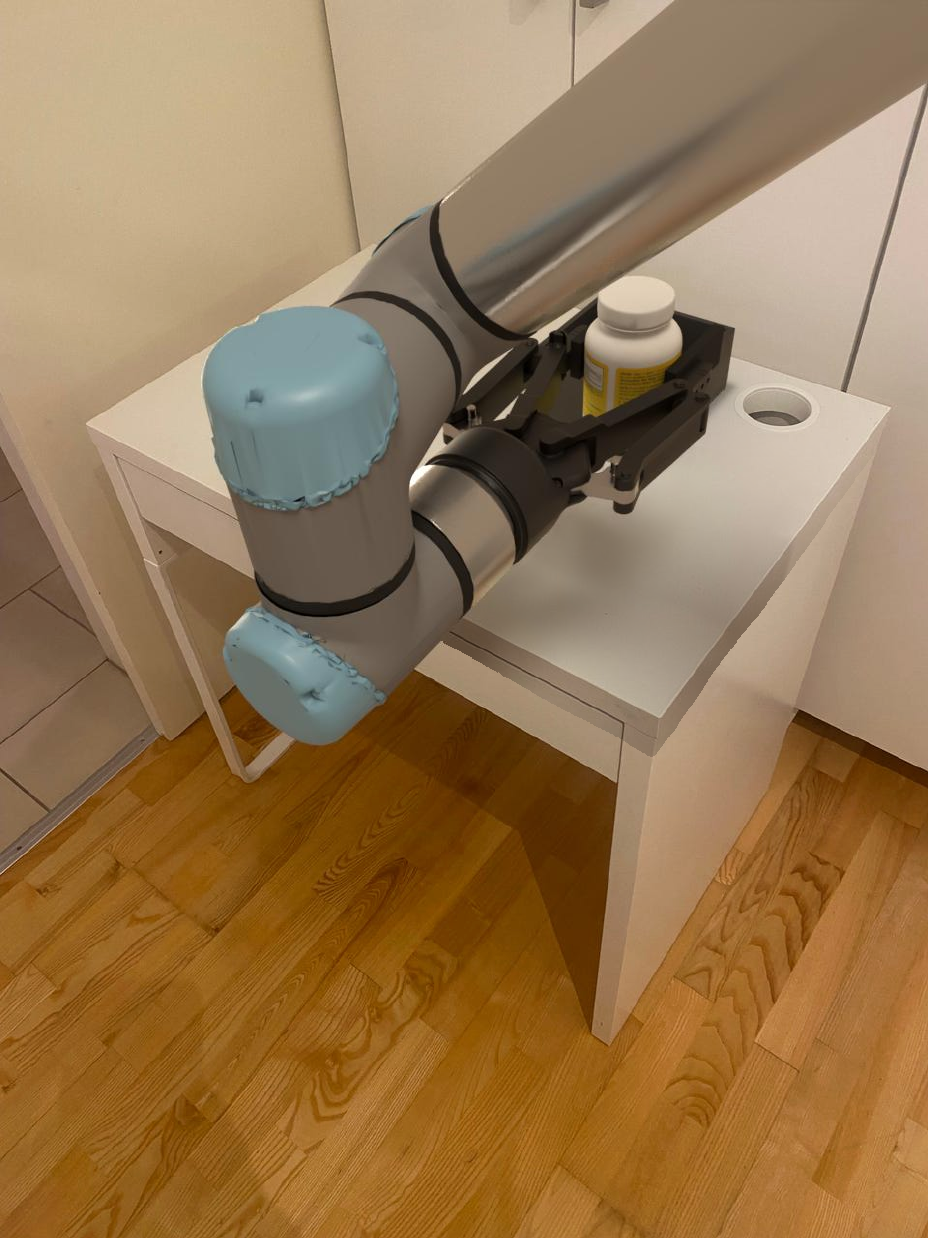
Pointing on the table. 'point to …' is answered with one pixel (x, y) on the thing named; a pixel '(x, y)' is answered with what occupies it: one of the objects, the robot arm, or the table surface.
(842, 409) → the table surface
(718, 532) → the table surface
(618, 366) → the pill bottle
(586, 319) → the basket
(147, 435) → the table surface
